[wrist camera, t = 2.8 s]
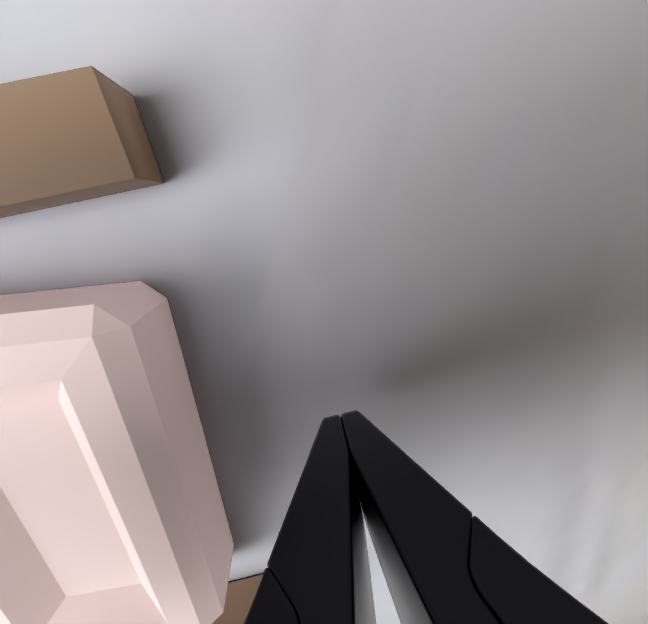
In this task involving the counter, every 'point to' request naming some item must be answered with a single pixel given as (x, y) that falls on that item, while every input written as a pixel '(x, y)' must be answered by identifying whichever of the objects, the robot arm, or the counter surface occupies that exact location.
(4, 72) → the counter surface
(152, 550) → the soap bar
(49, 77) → the guide channel
